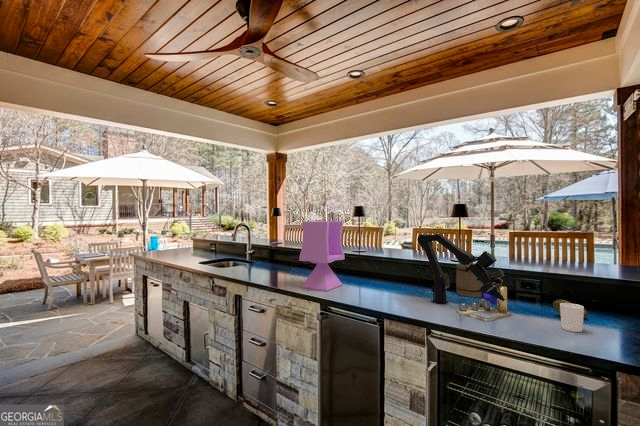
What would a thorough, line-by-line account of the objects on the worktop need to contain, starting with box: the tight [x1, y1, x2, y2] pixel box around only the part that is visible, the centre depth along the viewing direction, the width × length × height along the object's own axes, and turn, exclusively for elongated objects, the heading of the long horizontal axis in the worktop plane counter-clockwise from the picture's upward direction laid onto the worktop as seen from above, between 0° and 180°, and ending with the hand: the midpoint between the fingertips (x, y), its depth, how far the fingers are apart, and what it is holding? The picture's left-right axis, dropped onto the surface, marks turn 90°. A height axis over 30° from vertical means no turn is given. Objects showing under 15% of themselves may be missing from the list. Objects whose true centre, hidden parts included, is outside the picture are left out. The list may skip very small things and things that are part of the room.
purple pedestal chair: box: [298, 220, 346, 293], centre depth 213 cm, size 22×22×45 cm
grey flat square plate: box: [472, 311, 498, 319], centre depth 146 cm, size 8×8×1 cm
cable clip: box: [481, 291, 497, 304], centre depth 177 cm, size 12×4×6 cm, turn 170°
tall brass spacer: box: [496, 285, 508, 313], centre depth 151 cm, size 4×4×12 cm
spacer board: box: [455, 305, 513, 323], centre depth 152 cm, size 16×20×1 cm
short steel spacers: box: [459, 298, 491, 312], centre depth 156 cm, size 8×18×4 cm, turn 118°
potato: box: [552, 298, 588, 319], centre depth 146 cm, size 8×13×8 cm, turn 54°
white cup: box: [560, 302, 585, 333], centre depth 131 cm, size 8×8×10 cm
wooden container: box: [455, 262, 483, 298], centre depth 191 cm, size 15×15×22 cm
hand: (505, 299), depth 150 cm, fingers closed on tall brass spacer, 4 cm apart
